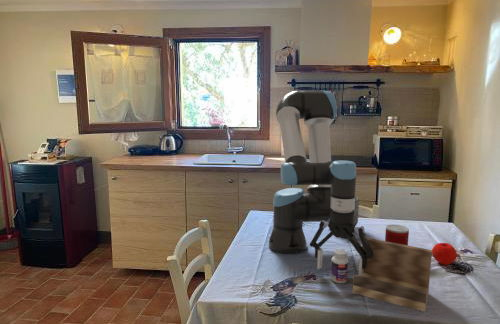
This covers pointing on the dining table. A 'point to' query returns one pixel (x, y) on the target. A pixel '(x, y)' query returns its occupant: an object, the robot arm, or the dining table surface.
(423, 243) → the dining table surface
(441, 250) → the apple
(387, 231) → the canned food
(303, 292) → the dining table surface
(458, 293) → the dining table surface
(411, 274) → the cleat board
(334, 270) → the pill bottle
